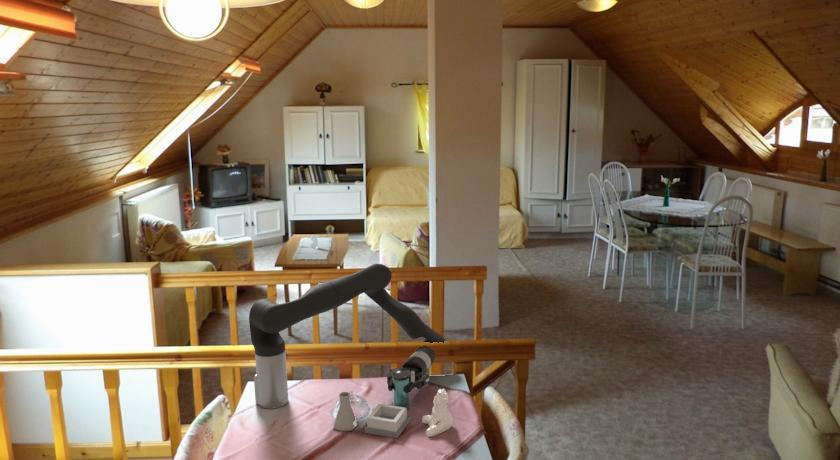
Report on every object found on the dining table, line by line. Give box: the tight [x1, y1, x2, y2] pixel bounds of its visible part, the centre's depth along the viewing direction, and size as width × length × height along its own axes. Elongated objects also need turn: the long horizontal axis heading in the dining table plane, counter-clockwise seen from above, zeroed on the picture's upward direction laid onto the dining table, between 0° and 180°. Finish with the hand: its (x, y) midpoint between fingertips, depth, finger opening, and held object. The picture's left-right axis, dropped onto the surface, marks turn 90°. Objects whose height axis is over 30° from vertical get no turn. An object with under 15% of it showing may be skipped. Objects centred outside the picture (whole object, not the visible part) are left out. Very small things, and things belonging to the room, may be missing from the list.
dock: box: [364, 403, 410, 439], centre depth 183 cm, size 10×10×4 cm
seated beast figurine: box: [421, 387, 454, 438], centre depth 182 cm, size 10×9×12 cm
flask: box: [333, 391, 356, 432], centre depth 184 cm, size 7×7×10 cm
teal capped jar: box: [392, 366, 410, 411], centre depth 193 cm, size 6×6×12 cm
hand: (398, 389), depth 191 cm, fingers closed on teal capped jar, 4 cm apart
